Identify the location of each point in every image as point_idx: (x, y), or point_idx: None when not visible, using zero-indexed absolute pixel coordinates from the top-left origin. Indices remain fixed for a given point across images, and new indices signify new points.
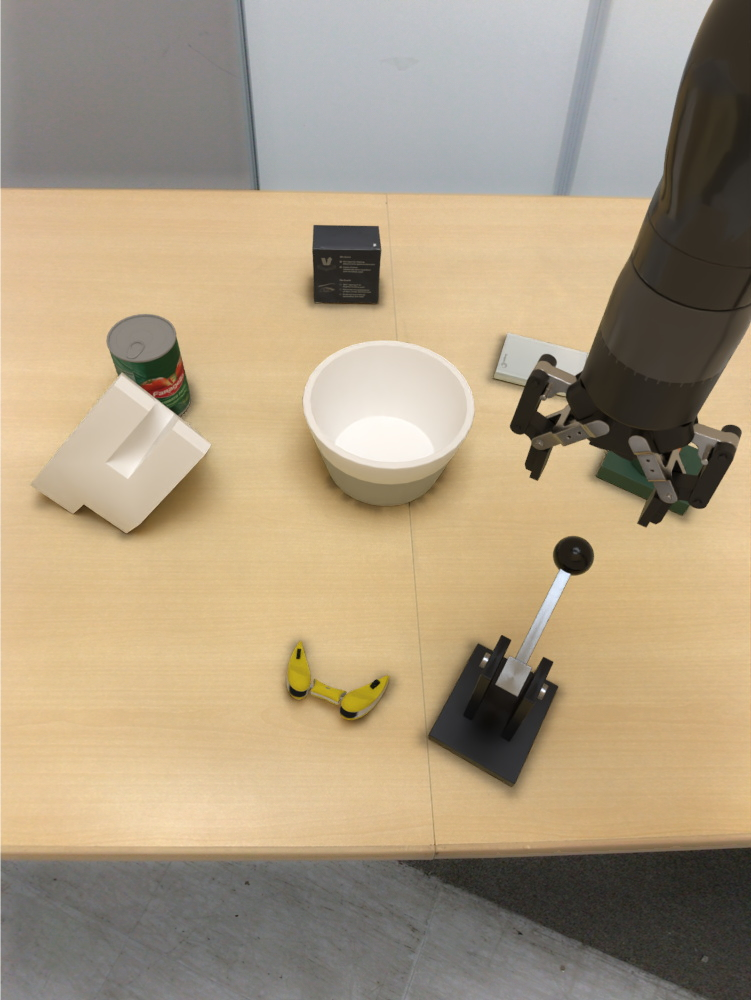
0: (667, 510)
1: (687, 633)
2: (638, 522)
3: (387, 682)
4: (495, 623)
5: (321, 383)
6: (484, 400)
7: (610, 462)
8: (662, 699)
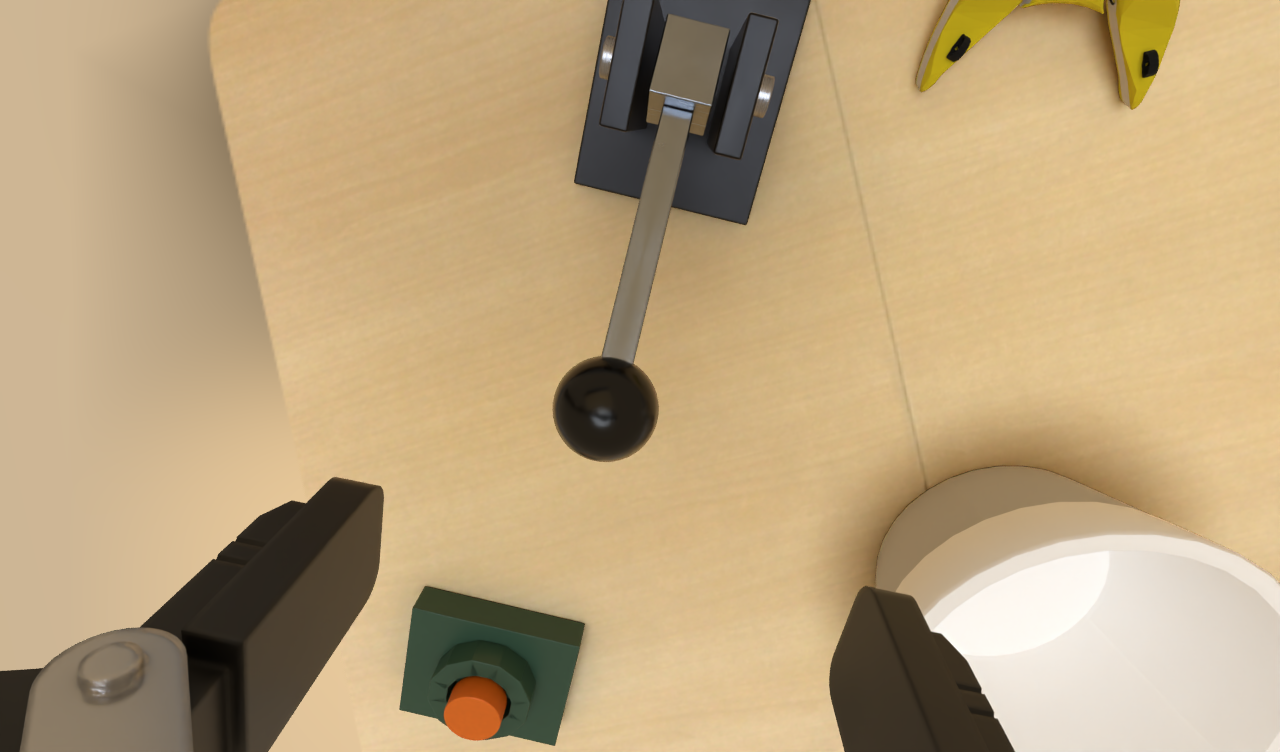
0: (194, 579)
1: (371, 368)
2: (370, 491)
3: (924, 72)
4: (715, 284)
5: (1249, 712)
6: (811, 723)
7: (564, 657)
8: (386, 226)
